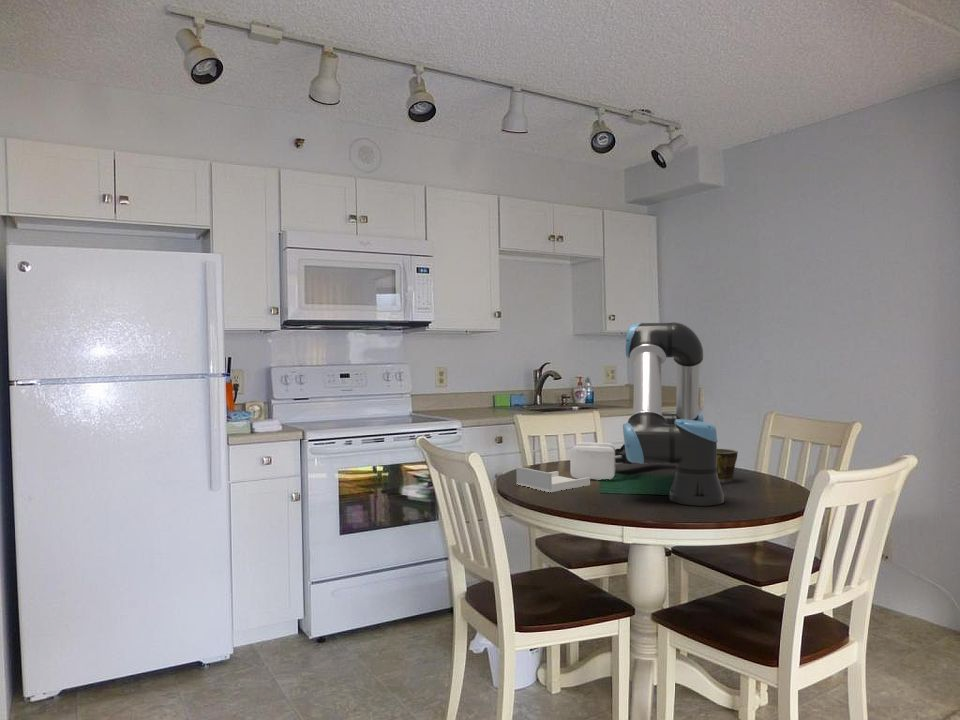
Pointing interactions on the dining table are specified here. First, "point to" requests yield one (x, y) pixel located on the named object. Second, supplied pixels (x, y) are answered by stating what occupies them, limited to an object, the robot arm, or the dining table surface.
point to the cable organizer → (592, 460)
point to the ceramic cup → (726, 464)
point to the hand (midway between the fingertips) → (593, 459)
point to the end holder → (547, 480)
